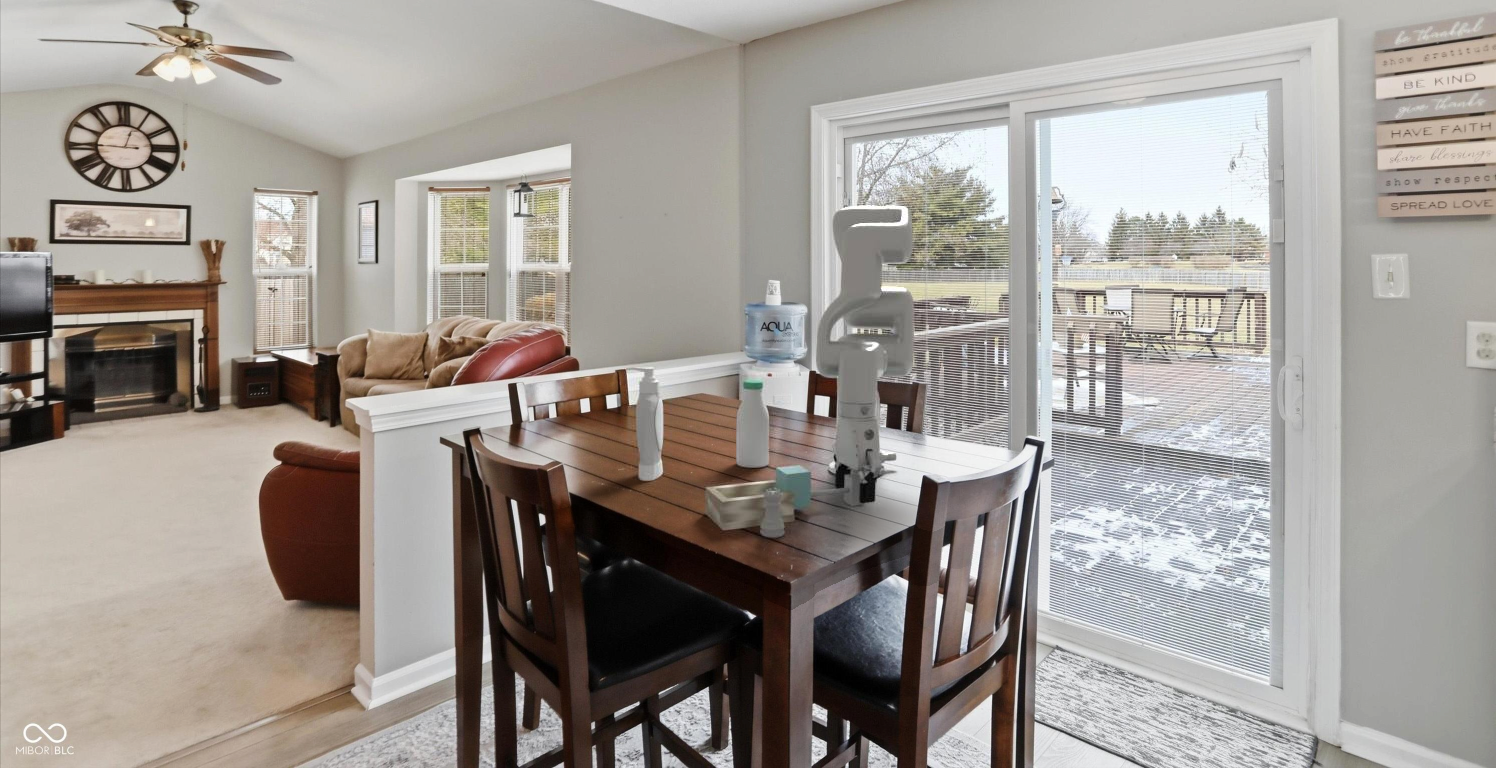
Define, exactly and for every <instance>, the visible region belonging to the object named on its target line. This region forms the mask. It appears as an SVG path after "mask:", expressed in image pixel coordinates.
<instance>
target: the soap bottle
mask: <svg viewBox="0 0 1496 768" xmlns="http://www.w3.org/2000/svg"><path fill="white" fill-rule="evenodd" d="M625 369H626V371H632V370H634V371H637V372H638V371H639V372H642V373H643V374H644V376H642V377H641V379H642V380H639V381H638V383H639V384H638V385H639V391H638V392H639V394H638V398H637V402H636V405H635V407H636V408H635V429H636V430H635V431H636V432H635V433H636V442H637V449H638V455H639V463H638V475H637V476H638V479H639V480H640V481H642V482H651V481H654V480H657V479H658V478H660V477H661V476H663V473H664V470H663V461H662V460H663V459H662V458H661V457H662V449H663V443H664V441H663V440H664V404H663V399H662V398H661V394H660V393H661V392H660V380H659V379H657V376H655V374H654V373H655V370H654V369H656V368H655V367H652V366H649V367H648V366H647V367H638V366H631V367H626V368H625Z"/></svg>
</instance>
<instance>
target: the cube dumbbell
mask: <svg viewBox="0 0 1496 768" xmlns="http://www.w3.org/2000/svg"><path fill="white" fill-rule="evenodd" d="M775 481H776V488H777V489H779V490H780V493H781V492H789V491H791V492H793V493H794V511H795V510H801V509H802V510H803V509H809V508H811V498H813V497H815V498H816V497H823V496H831V495H838V494H843V495H844V497H843V502H845V503H846V504H847V505H849V506H851V507H853V506H854V507H855V506H861V505H866V503H860V502H859V492H860V483H862V480H861V477H860V474H858V473H856V474H847V475H845V484H844V488H839V489H836V488H832V489H831V488H830V489H822V490H814V491H813V490H812V489H811V487H812V485H811V484H812V483H811V482H812V471H810V470H809V469H807V468H805V467H803V466H802V465H800V464H799V465H797V464H796V465H788V466H779V467H775Z"/></svg>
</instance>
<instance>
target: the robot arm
mask: <svg viewBox="0 0 1496 768" xmlns="http://www.w3.org/2000/svg"><path fill="white" fill-rule="evenodd" d="M913 232H914V231H913V219H912V214H911V212H910V210H909V209H908V207H905V206H900V205H899V206H898V205H896V206H895V205H885V206H884V205H882V206H881V205H880V206H877V205H872V206H871V205H859V206H857V205H856V206H848V207H844V208H841V209H839V210H837V211H836V212H835V213H834V215H833V217H832V233H833V239H834V244H835V248H836V251H837V254H838V256H839V258H840V262H841V268H840V269H841V271H840V272H841V273H840V292H839V294H838V296H837V297H836V298H835V299H834V300H832V302H831V303H830V304H829V305H828V307H827V308H826V309H825V311H824V312H823V314H822V316H821V318H820V320H819V324H818V328H817V334H816V350H815V351H816V353H815V364H816V369H817V373H818V374H819V375H820V376H822V377H824V378H828V379H830V378H831V379H836V386H837V387H836V392H837V393H836V395H837V397H836V399H837V400H836V433H835V443H834V444H832V445H831V446H832V452H833V457H832V458H833V461H832V462H830V463H829V464H828V471H829V472H831V473H832V474H834V475H835V479H834V480H835V487H834V489H839V488H844V484H845V475H847V474H856V473H858V474H860V477H861V480H862V483H860V492H859V502H860V503H865V504H869V503H875V501H876V485H877V484H876V483H878V479H879V477H880V476H881V475H882V474H884V472H885V466H884V465H883V464H884V463H885V462H891V461H893V462H894V461H896V460H897V453H896V452H887V453H886V452H885V451H880V448H881V447H880V446H881V445H880V431H879V429H880V428H879V423H880V403H881V402H880V393H879V391H878V379H879V378H881V377H888V378H889V377H890V378H891V377H893V378H896V377H897V378H902V377H906V376H908V375H909V374H910V373H911V372H912V370H913V368H914V367H913V366H914V359H915V303H914V298H913V296H912V293H911V291H910V290H909V289H907V288H905V287H898V286H883V283H882V282H883V265H888V264H889V265H891V264H893V265H895V264H896V265H897V264H898V265H903V264H906V263H907V262H909V260H910V258H911V256H912V252H913V247H914V246H913V245H914V233H913ZM841 319H843V322H844V324H845V325H846V326H847V327H850V328H853V329H861V330H890V332H892V333H874V332H873V333H872V332H870V333H867V332H866V333H865V332H864V333H863V332H853V333H848V334H847V333H846V334H844V335H842V336H840V337H839V338H838V339H837V340H831V335H832V331H833V328H834V326H835V325H836V323H838V322H839V321H840V320H841Z"/></svg>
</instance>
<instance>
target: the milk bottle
mask: <svg viewBox="0 0 1496 768" xmlns="http://www.w3.org/2000/svg"><path fill="white" fill-rule="evenodd" d="M742 384H743V385H742V387H743V391H744V392H743V398H742V400H741V403H740V405H739V408H738V409H737V414H736V436H735V437H736V456H735V459H736V464H737V465H738V466H739V467H741V468H742V467H743V468H749V469H753V468H757V469H759V468H763V467H766V466H768V465H769V463H770V415H769V410H768V408H767V405H766V403H765V401H764V397H763V387H764V381H762V380H759V379H747V380H744V381H743V383H742Z"/></svg>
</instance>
